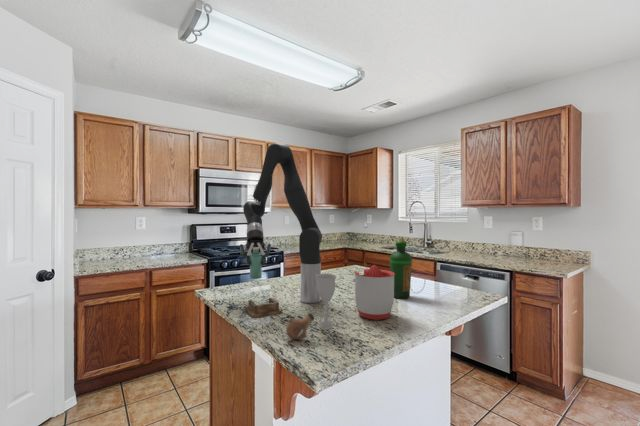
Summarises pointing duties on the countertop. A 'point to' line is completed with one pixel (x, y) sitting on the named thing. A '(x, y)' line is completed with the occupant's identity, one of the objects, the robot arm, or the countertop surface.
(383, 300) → the citrus juicer
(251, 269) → the bottle
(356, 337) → the countertop surface
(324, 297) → the chalice
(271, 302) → the u rest
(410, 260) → the bottle
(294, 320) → the brown animal figurine
